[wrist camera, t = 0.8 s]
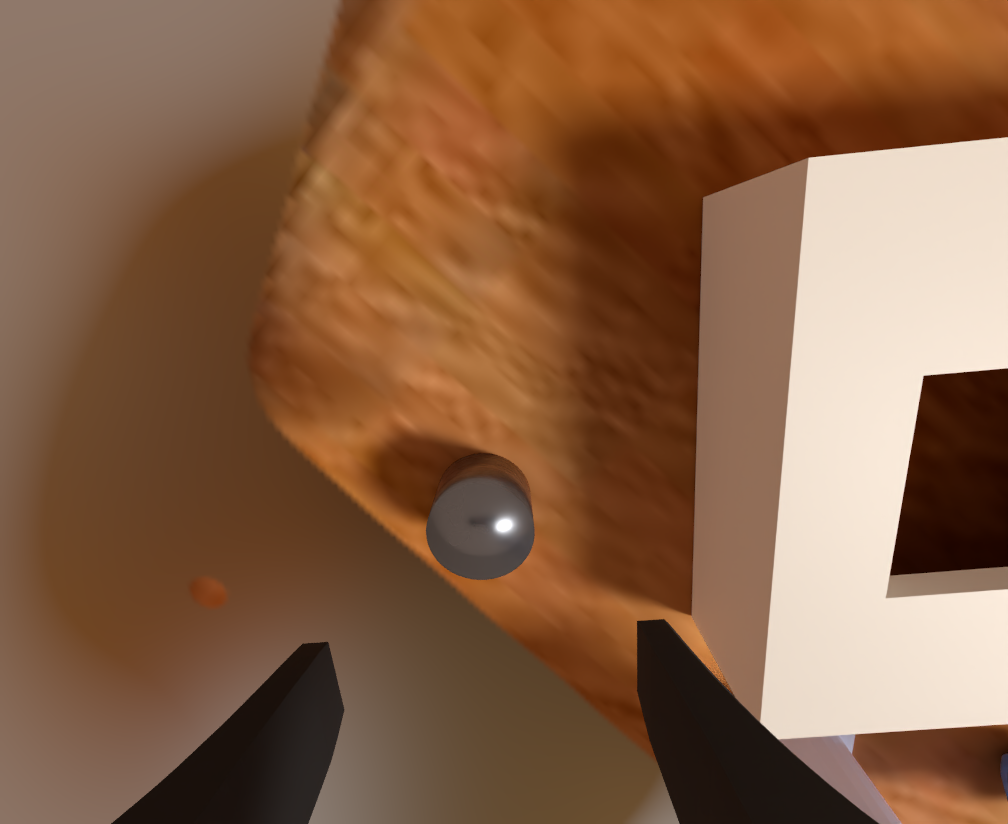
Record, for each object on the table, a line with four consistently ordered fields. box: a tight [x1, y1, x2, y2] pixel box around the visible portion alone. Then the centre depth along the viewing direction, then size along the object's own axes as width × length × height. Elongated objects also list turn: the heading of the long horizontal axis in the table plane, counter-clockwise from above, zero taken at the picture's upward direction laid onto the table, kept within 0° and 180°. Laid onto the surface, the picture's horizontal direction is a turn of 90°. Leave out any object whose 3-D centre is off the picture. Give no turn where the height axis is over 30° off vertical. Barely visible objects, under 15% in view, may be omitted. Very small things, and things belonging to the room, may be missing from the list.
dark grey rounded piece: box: [426, 453, 534, 580], centre depth 19 cm, size 4×4×3 cm
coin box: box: [692, 137, 1008, 739], centre depth 16 cm, size 18×16×6 cm
